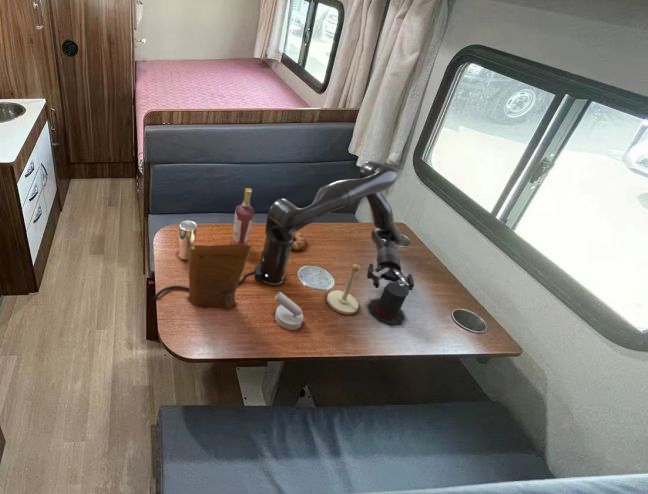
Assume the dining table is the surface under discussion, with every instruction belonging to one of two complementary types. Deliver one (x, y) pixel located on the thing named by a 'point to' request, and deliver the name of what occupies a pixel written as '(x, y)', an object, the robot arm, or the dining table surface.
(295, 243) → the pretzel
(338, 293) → the hat stand
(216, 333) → the dining table surface
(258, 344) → the dining table surface
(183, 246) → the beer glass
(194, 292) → the pancake mix bag
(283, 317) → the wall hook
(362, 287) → the dining table surface
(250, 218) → the liquor
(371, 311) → the hat
